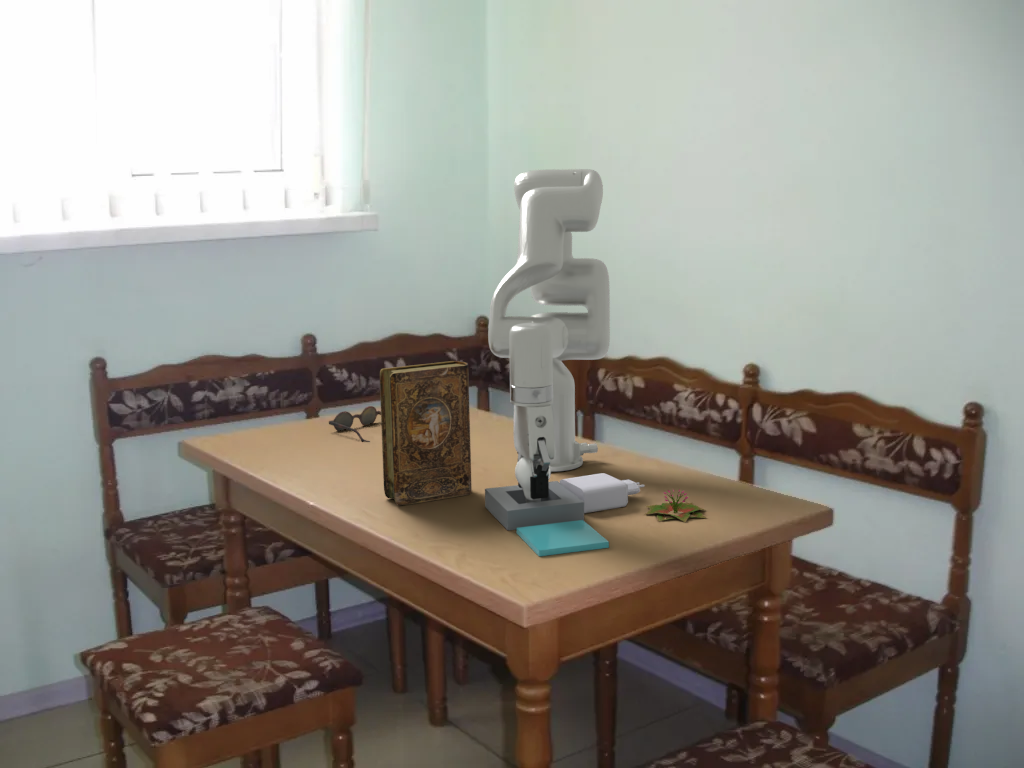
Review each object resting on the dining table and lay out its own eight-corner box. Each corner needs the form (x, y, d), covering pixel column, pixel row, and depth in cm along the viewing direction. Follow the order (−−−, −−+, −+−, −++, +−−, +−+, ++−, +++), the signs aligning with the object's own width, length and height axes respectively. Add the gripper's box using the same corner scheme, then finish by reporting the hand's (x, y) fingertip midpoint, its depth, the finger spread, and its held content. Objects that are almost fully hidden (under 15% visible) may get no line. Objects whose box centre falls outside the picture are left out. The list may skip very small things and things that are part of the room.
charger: (655, 503, 209) (583, 515, 202) (628, 490, 217) (559, 502, 210) (655, 478, 208) (583, 490, 201) (628, 466, 216) (559, 477, 209)
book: (463, 486, 221) (460, 360, 216) (475, 493, 216) (472, 364, 211) (384, 499, 213) (378, 368, 208) (394, 507, 209) (389, 373, 204)
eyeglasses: (379, 423, 276) (378, 403, 275) (417, 433, 266) (416, 412, 265) (329, 434, 266) (328, 413, 265) (366, 444, 256) (365, 423, 255)
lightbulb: (530, 506, 207) (529, 448, 205) (558, 512, 204) (557, 453, 201) (508, 515, 203) (507, 455, 200) (536, 521, 199) (535, 461, 196)
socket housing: (557, 498, 212) (557, 480, 211) (584, 521, 198) (583, 502, 198) (485, 507, 208) (484, 488, 207) (507, 530, 194) (507, 510, 194)
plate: (582, 525, 196) (582, 519, 196) (608, 547, 185) (608, 541, 185) (516, 533, 193) (516, 527, 193) (539, 556, 182) (538, 550, 181)
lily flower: (697, 503, 209) (697, 479, 208) (718, 523, 197) (719, 498, 196) (634, 507, 207) (634, 483, 206) (651, 528, 196) (651, 502, 195)
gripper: (568, 402, 192) (569, 504, 195) (536, 383, 208) (537, 477, 211) (526, 406, 190) (528, 508, 193) (497, 386, 206) (499, 481, 209)
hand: (533, 491), depth 202 cm, fingers closed on lightbulb, 6 cm apart
